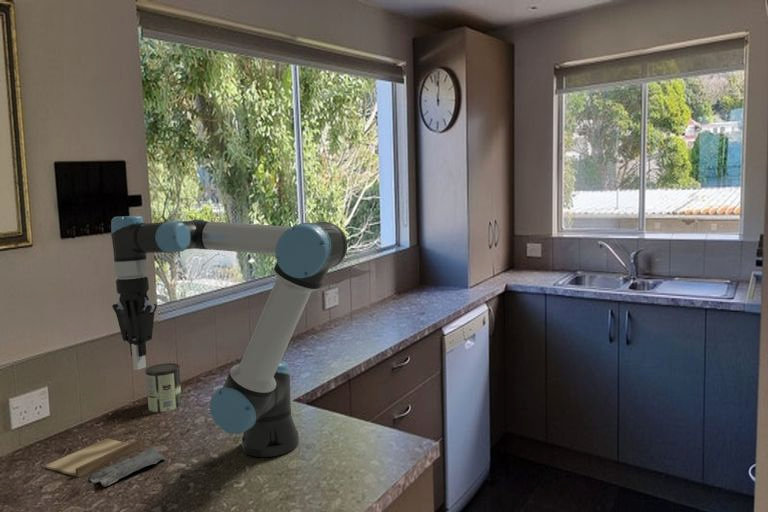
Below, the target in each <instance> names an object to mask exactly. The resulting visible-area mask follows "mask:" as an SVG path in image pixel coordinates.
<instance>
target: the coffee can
mask: <svg viewBox="0 0 768 512" xmlns="http://www.w3.org/2000/svg"><path fill="white" fill-rule="evenodd" d="M180 366H181V365H180V364H178V363H174V362H173V363H171V362H169V363H168V362H166V363H160V364H159V363H158V364H153V365H151V366H149V367H145V370H144V371H145V372H144V373H145V378H146V390H147V391H146V393H147V407H148V411H150V412H154V413H164V412H169V411H173V410H175V409H178V408H179V407H180V406H182V402H183V401H182V389H181V373H180V372H181V370H180Z"/></svg>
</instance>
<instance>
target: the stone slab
mask: <svg viewBox="0 0 768 512" xmlns="http://www.w3.org/2000/svg"><path fill="white" fill-rule="evenodd" d="M161 460H163V461H165V460H166V458H165V456H164V455H163V454H161V452H159V451H158V450H157V449H156V447H155V446H150V447H149V448H147V449H145V450H143V451H142V452H140V453H138V454H136V455H135V456H133V457H131V458H126V459H124V460H122V461H121V462H118V463H115V464H112V465H110V466H108V467H106V468H103V469H101V470H99V471H98V472H95V473H94V474H91V475H90V477H89V481H90V482H91V483H92V484H97V483H100V485H101V486H102V487H104V488H105V487H108V486H110V485H112V484H113V483H116V482H118V481H119V480H121V479H122V478H125V477H127V476H129V475H130V474H132V473H134V472H136V471H139V470H141V469H143V468H145V467H148V466H150V465H157V464H158V462H160V461H161Z"/></svg>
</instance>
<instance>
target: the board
mask: <svg viewBox="0 0 768 512" xmlns="http://www.w3.org/2000/svg"><path fill="white" fill-rule="evenodd" d="M139 449H140V440H134V441H132V442H130V443H128V442H124V441H119V440H115V439H112V438H111V439H110V438H104V439H102V440H100V441H98V442H96V443H93V444H91V445H88V446H86V447H83V448H81V449H79V450H77V451H75V452H73V453H69V454H67V455H65V456H63V457H60V458H59V459H56V460H53V461H51V462H50V463H47V464H44V468H45V469H49V470H52V471H55V472H59V473H63V474H65V475H66V474H67V475H69V476H73V477H76V478H80V477H83V476H85V475H86V474H88V473H90V472H93V471H95V470H96V469H99V468H101V467H103V466H105V465H108V464H109V463H111V462H114V461H115V460H118V459H120V458H122V457H124V456H126V455H128V454H130V453H132V452H134V451H137V450H139Z"/></svg>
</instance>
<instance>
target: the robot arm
mask: <svg viewBox="0 0 768 512" xmlns="http://www.w3.org/2000/svg"><path fill="white" fill-rule="evenodd" d="M110 222H111V223H110V228H111V229H110V230H111V233H110V235H111V242H112V243H111V244H112V251H113V262H114V263H113V265H114V277H116V278H117V279H116V280H115V285H116V293H117V294H118V295H119V298H118V299H119V301H118V302H116V303H115V304H112V309H113V310H114V311H113V312H115V315H116V318H117V322H118V327H119V330H120V333H121V337H122V341H123V342H128V344H129V348H130V349H129V350H130V356H131V357H132V365H133V369H132V370H136V371H139V370H142V369H144V368H145V369H146V368H147V361H146V359H147V358H146V356H147V346H146V344H147V342H149V341H151V340H152V339H153V330H154V329H153V328H154V321H155V313H156V310H157V308H158V305H157V303H152V302H150V300H149V296H148V291H149V290H150V285H149V277H148V276H146V275H148V265H147V264H148V262H147V254H160V253H166V254H172V253H181V252H184V251H187V250H194V249H196V250H209V251H210V250H211V251H224V252H236V253H237V252H238V253H245V254H246V253H248V254H259V255H273V256H275V257H276V262H275V265H274V267H273V271H274V274H275V277H276V279H275V282H274V284H273V287H272V288H271V291H270V293H269V295H268V298H267V301H266V302H265V305H264V308H263V309H262V312H261V315H260V316H259V319H258V321H257V323H256V325H255V329H254V331H253V333H252V335H251V337H250V340H249V343H248V345H247V347H246V349H245V351H244V354H243V356H242V358H241V361H240V363H237V364H235V365H233V366H232V367H231V368H230V371H229V372H228V375H227V377H226V380H225V382H224V384H223V386H222V387H220V388H218V389H217V390H216V391H215V392H214V393H213V395H212V396H211V398H210V401H209V412H210V416H211V417H212V420H213V421H214V423H215V424H216V425H217V426H218V427H219V429H221V430H222V431H223V432H227V433H229V434H234V435H235V434H236V435H238V434H242V438H241V450H242V452H243V453H244V454H246V455H248V456H251V457H257V458H259V457H260V458H269V457H277V456H281V455H284V454H287V453H289V452H292V451H293V450H295V449H296V448H297V447H298V446H299V443H300V438H299V437H300V436H299V435H300V434H299V432H298V430H297V428H296V425H295V422H294V419H293V416H292V407H291V406H292V405H291V404H292V403H291V402H292V401H291V399H292V398H291V373H290V366H289V364H288V362H286V361H284V360H282V359H283V357H284V353H285V352H286V351H287V348H288V345H289V343H290V341H291V339H292V336H293V335H294V331H295V329H296V327H297V325H298V322H299V320H300V318H301V316H302V314H303V312H304V309H305V307H306V305H307V302H308V301H309V298H310V296H311V293H313V292H315V291H318V290H320V289H321V287H322V285H323V282H324V281H325V279H326V276H327V274H328V272H329V270H330V269H333V268H335V267H337V266H338V265H340V264H341V263H342V262H343V261H344V259H345V257H346V255H347V252H348V244H349V243H348V239H347V237H346V234H345V232H344V230H342V229H341V228H340V227H339V226H338V225H337V224H334V223H332V222H330V221H329V222H328V221H318V222H303V223H302V222H301V223H298V224H295V225H294V226H286V225H270V224H256V223H255V224H252V223H239V222H223V221H222V222H221V221H207V220H204V219H192V220H184V221H183V220H181V221H177V220H176V221H165V222H164V221H163V222H144V218H143V216H141V215H127V216H126V215H125V216H114V217H113V218H112V219H111V221H110Z"/></svg>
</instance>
